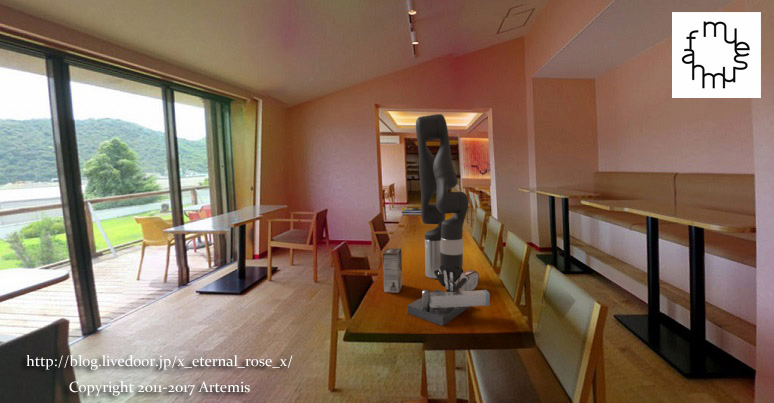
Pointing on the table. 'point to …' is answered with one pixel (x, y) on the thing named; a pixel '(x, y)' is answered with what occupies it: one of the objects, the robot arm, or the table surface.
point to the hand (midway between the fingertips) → (450, 299)
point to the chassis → (433, 310)
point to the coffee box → (392, 270)
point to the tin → (470, 281)
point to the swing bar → (459, 299)
